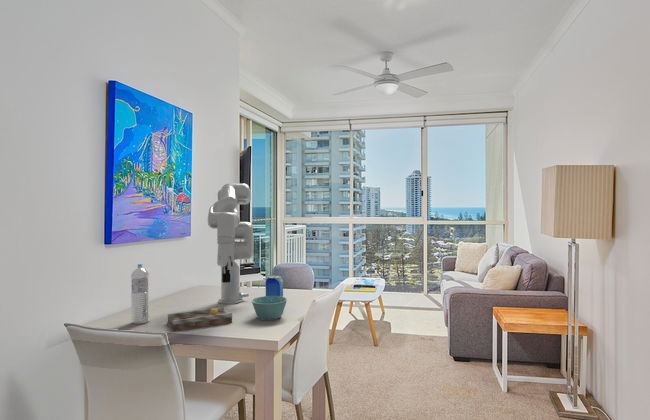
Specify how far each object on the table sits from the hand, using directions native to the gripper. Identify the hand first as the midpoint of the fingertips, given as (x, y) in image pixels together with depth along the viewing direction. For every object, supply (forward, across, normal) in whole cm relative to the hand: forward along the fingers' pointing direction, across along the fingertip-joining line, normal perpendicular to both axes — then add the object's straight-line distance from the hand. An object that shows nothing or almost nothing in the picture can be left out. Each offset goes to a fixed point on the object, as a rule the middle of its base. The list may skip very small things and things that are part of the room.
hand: (226, 282), depth 184 cm
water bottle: (+17, -14, -33) cm, 40 cm away
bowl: (+17, +7, +18) cm, 25 cm away
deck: (+16, 0, -11) cm, 20 cm away
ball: (+12, 0, -5) cm, 13 cm away
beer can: (+17, -6, +26) cm, 31 cm away
